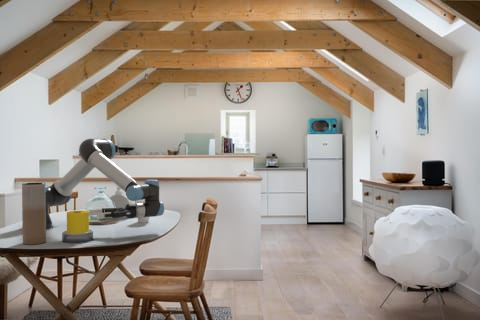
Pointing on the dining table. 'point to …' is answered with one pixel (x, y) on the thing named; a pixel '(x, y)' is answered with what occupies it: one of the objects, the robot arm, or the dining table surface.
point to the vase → (33, 213)
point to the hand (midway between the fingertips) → (92, 214)
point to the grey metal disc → (77, 237)
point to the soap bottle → (120, 200)
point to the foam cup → (143, 219)
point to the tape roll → (77, 222)
